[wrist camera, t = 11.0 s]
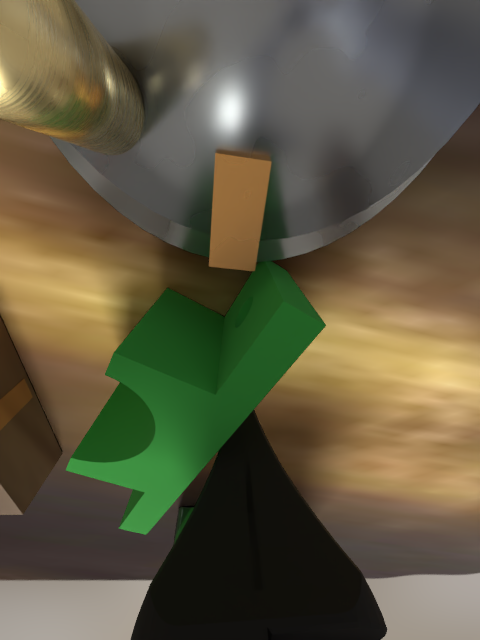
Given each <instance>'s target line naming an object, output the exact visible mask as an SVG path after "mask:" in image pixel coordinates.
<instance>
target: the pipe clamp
mask: <svg viewBox="0 0 480 640" xmlns="http://www.w3.org/2000/svg"><path fill="white" fill-rule="evenodd" d="M325 326H326V325H325V323H324V322H323V320H322V319H321V318H320V316H319V315H318V313H317V312H316V311H315V309H314V308H313V307H312V305H311V304H310V302H309V301H308V300H307V298H306V297H305V295H304V294H303V293H302V291H301V290H300V288H299V287H298V286H297V284H296V283H295V282H294V280H293V279H292V277H291V276H290V275H289V273H288V272H287V270H285V269H283V268H282V267H280V266H278V265H277V264H275V263H273V262H272V261H264V262H258V264H257V265H256V268H255V271H253V272H252V274H251V275H250V277H249V278H248V280H247V282H246V283H245V285H244V286H243V288H242V290H241V291H240V293H239V294H238V296H237V298H236V299H235V301H234V303H233V304H232V306H231V307H230V309H229V311H228V312H227V314H226V315H225V317H224V316H222V315H220V314H218V313H216V312H214V311H212V310H210V309H208V308H206V307H204V306H202V305H200V304H198V303H196V302H195V301H193V300H191V299H189V298H187V297H185V296H183V295H181V294H179V293H177V292H175V291H173V290H171V289H169V288H167V289H166V290H165V291H164V292H163V294H162V295H161V296H160V297H159V299H158V300H157V301H156V302H155V303H154V305H153V306H152V307H151V308H150V309H149V311H148V312H147V313H146V314H145V316H144V317H143V318H142V319H141V320H140V322H139V323H138V324H137V325H136V326H135V328H134V329H133V330H132V331H131V332H130V334H129V335H128V336H127V337H126V339H125V340H124V341H123V342H122V343H121V345H120V346H119V347H118V348H117V349H116V351H115V352H114V354H113V356H112V358H111V361H110V363H109V366H108V368H107V371H106V373H105V375H106V376H109V377H111V378H113V379H115V380H117V381H119V382H120V383H119V385H118V386H117V388H116V389H115V391H114V393H113V394H112V396H111V397H110V399H109V400H108V402H107V403H106V405H105V406H104V408H103V409H102V411H101V412H100V414H99V415H98V417H97V419H96V420H95V422H94V423H93V425H92V426H91V428H90V429H89V431H88V432H87V434H86V435H85V437H84V438H83V440H82V441H81V443H80V445H79V446H78V448H77V449H76V451H75V452H74V454H73V455H72V457H71V459H70V461H69V464H68V466H67V468H66V471H70V472H73V473H77V474H81V475H84V476H88V477H91V478H95V479H99V480H102V481H106V482H109V483H113V484H116V485H120V486H124V487H127V488H131V489H133V491H132V494H131V497H130V499H129V502H128V505H127V508H126V510H125V513H124V516H123V519H122V521H121V524H120V527H119V529H124V530H128V531H132V532H136V533H141V534H145V535H146V534H147V533H148V532H149V531H150V530H151V529H152V527H153V526H154V525H155V524H156V523H157V522H158V520H159V519H160V518H161V517H162V516H163V515H164V513H165V512H166V511H167V510H168V509H169V508H170V506H171V505H172V504H173V503H174V502H175V501H176V499H177V498H178V497H179V496H180V495H181V494H182V492H183V491H184V490H185V489H186V488H187V487H188V485H189V484H190V483H191V482H192V481H193V480H194V478H195V477H196V476H197V475H198V474H199V473H200V471H201V470H202V469H203V468H204V467H205V466H206V464H207V463H208V462H209V461H210V460H211V459H212V458H213V456H214V455H215V454H216V453H217V452H218V451H219V449H220V448H221V447H222V446H223V445H224V444H225V442H226V441H227V440H228V439H229V438H230V437H231V435H232V434H233V433H234V432H235V431H236V430H237V428H238V427H239V426H240V425H241V424H242V423H243V421H244V420H245V419H246V418H247V417H248V416H249V414H250V413H251V412H252V411H253V410H254V409H255V407H256V406H257V405H258V404H259V403H260V402H261V400H262V399H263V398H264V397H265V396H266V395H267V394H268V392H269V391H270V390H271V389H272V388H273V387H274V385H275V384H276V383H277V382H278V381H279V380H280V378H281V377H282V376H283V375H284V374H285V373H286V371H287V370H288V369H289V368H290V367H291V366H292V364H293V363H294V362H295V361H296V360H297V359H298V357H299V356H300V355H301V354H302V353H303V352H304V350H305V349H306V348H307V347H308V346H309V345H310V343H311V342H312V341H313V340H314V339H315V338H316V336H317V335H318V334H319V333H320V332H321V331H322V330H323V328H324V327H325Z"/></svg>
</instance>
